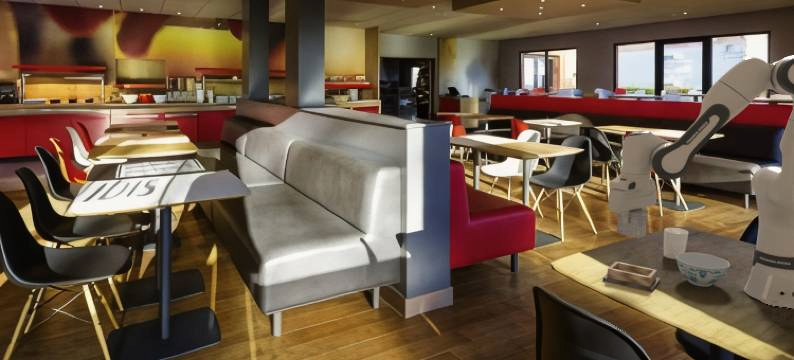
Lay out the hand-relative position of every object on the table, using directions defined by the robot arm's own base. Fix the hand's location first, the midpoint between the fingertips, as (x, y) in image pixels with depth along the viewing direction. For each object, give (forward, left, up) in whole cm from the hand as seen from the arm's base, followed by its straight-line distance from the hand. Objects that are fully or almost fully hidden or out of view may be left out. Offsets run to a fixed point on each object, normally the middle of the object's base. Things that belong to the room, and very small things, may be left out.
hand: (631, 221), depth 173 cm
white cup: (-8, -30, -19) cm, 36 cm away
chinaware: (-20, -8, -19) cm, 29 cm away
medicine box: (0, 0, -5) cm, 5 cm away
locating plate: (-2, +4, -19) cm, 19 cm away
